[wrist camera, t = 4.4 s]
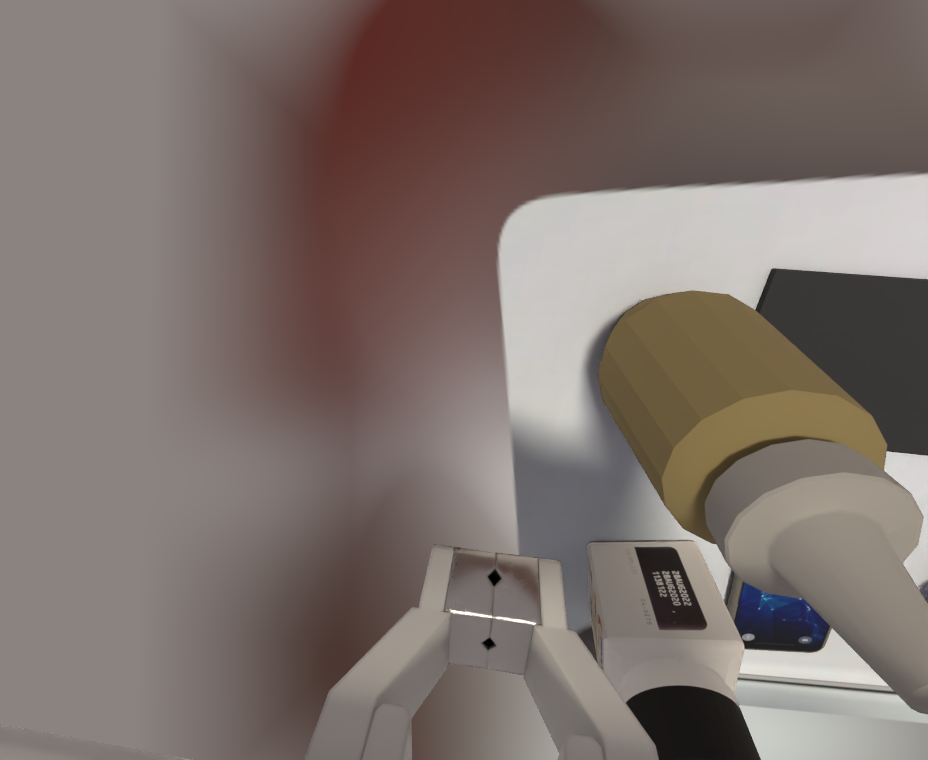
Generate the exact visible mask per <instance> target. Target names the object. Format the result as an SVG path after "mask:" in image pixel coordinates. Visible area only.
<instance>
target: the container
mask: <svg viewBox="0 0 928 760" xmlns="http://www.w3.org/2000/svg"><path fill="white" fill-rule="evenodd" d="M587 559H588V589H589V610H590V616H591V623H592V629H593V636H594V642H595V648H596V655H597V661H598V664H599V666H600V667H601V668H602V670H603V671H604V673H605V674H606V676H607V677H608V678H609V680H610V681H611V683H612V684H613V686H614V687H615V688H616V690H617V691H618V693H619V694H620V696H621V697H622V698H623V700H624V701H625V703H626V704H627V706H628V707H629V708H630V710H631V711H632V713H633V714H634V716H635V717H636V718H637V720H638V721H639V723H640V724H641V725H642V727H643V728H644V730H645V731H646V733H647V734H648V735H649V737H650V738H651V740H652V741H653V743H654V744H655V745H656V749H657V754H658V758H659V760H761V759H760V757H759V754H758V752H757V749H756V747H755V744H754V742H753V739H752V737H751V734H750V732H749V729H748V727H747V724H746V722H745V720H744V717H743V715H742V712H741V710H740V708H739V705H738V702H737V700H736V697H735V695H734V691H735V687H736V683H737V679H738V674H739V670H740V666H741V662H742V657H743V653H744V649H745V648H744V643H743V641H742V639H741V637H740V635H739V632H738V630H737V628H736V626H735V624H734V622H733V620H732V618H731V615H730V613H729V611H728V609H727V607H726V605H725V603H724V601H723V598H722V596H721V594H720V592H719V590H718V588H717V586H716V584H715V581H714V579H713V577H712V575H711V573H710V571H709V569H708V567H707V564H706V562H705V560H704V558H703V556H702V554H701V552H700V550H699V547H698V545H697V544H696V543H695V542H692V541H663V542H591V543H589V544H588V546H587Z"/></svg>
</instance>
